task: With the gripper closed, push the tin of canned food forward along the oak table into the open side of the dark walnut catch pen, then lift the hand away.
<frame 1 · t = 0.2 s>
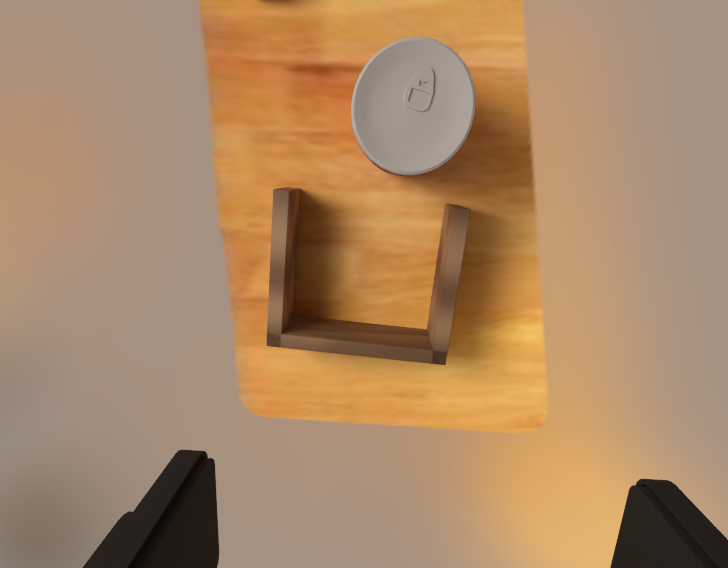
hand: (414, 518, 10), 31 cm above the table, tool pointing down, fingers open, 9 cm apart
canned food: (403, 127, 37), on the table
catch pen: (366, 261, 39), on the table
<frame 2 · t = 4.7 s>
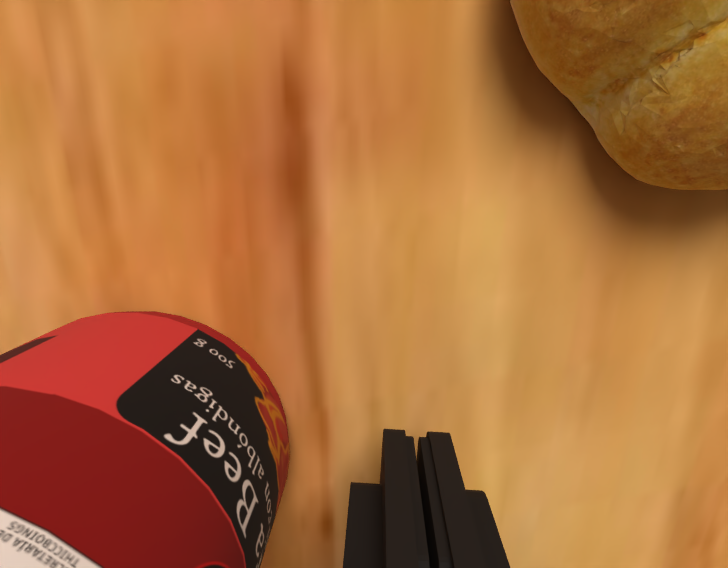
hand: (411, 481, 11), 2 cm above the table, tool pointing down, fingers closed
canned food: (167, 420, 13), on the table, touching gripper
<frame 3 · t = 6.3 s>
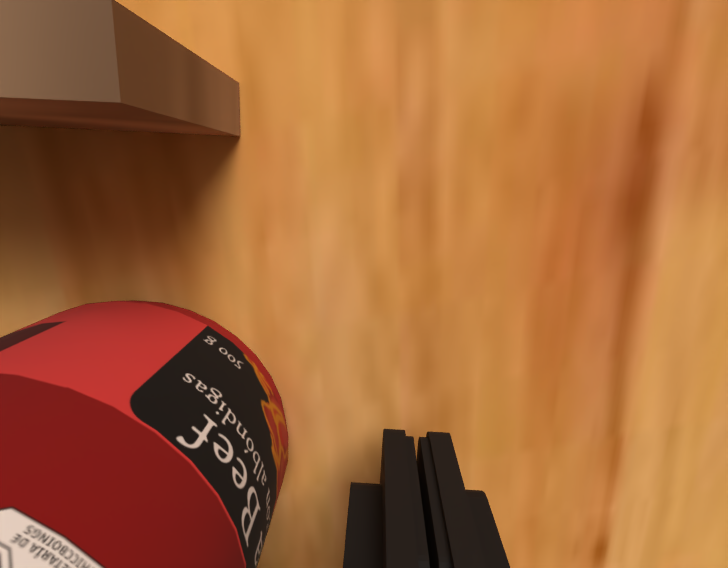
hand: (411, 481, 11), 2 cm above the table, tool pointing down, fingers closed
canned food: (163, 413, 13), on the table, touching gripper
catch pen: (37, 366, 12), on the table
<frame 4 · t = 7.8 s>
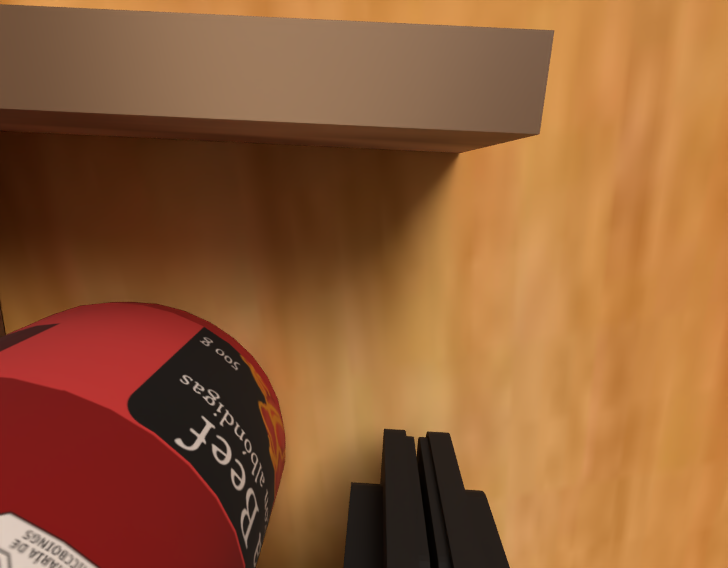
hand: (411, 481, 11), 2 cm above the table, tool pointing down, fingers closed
canned food: (159, 415, 12), on the table, touching catch pen, gripper
catch pen: (223, 383, 12), on the table
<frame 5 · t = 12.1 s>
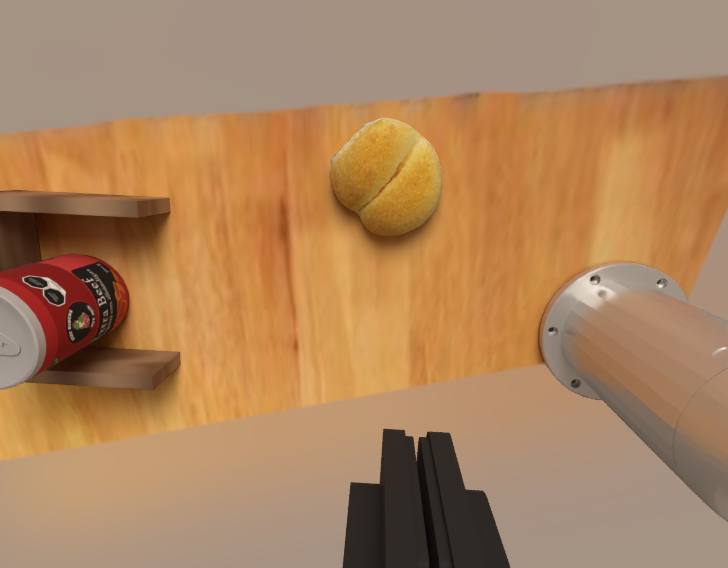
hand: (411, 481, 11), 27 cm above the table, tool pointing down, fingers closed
bread roll: (385, 178, 36), on the table
canned food: (90, 293, 39), on the table
catch pen: (109, 281, 38), on the table
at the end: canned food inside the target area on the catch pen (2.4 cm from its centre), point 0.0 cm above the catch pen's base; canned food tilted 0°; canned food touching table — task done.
